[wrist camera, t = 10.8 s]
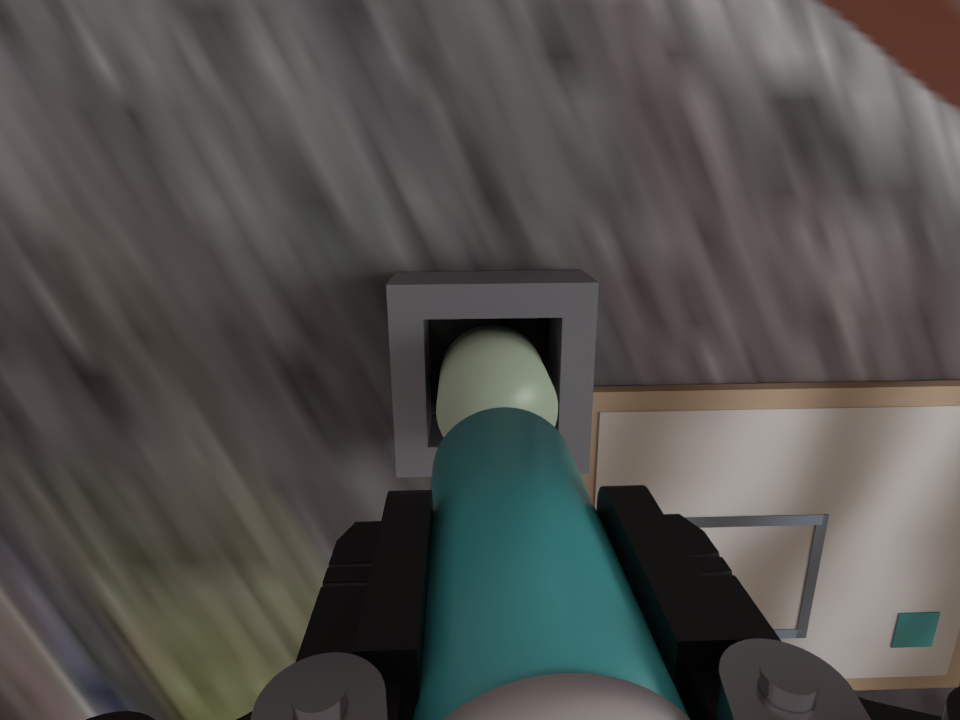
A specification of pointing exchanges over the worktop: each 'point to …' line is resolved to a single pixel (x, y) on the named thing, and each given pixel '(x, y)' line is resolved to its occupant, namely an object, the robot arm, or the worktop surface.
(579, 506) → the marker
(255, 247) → the worktop surface
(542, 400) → the button
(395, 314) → the button housing
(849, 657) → the framed whiteboard
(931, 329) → the worktop surface
